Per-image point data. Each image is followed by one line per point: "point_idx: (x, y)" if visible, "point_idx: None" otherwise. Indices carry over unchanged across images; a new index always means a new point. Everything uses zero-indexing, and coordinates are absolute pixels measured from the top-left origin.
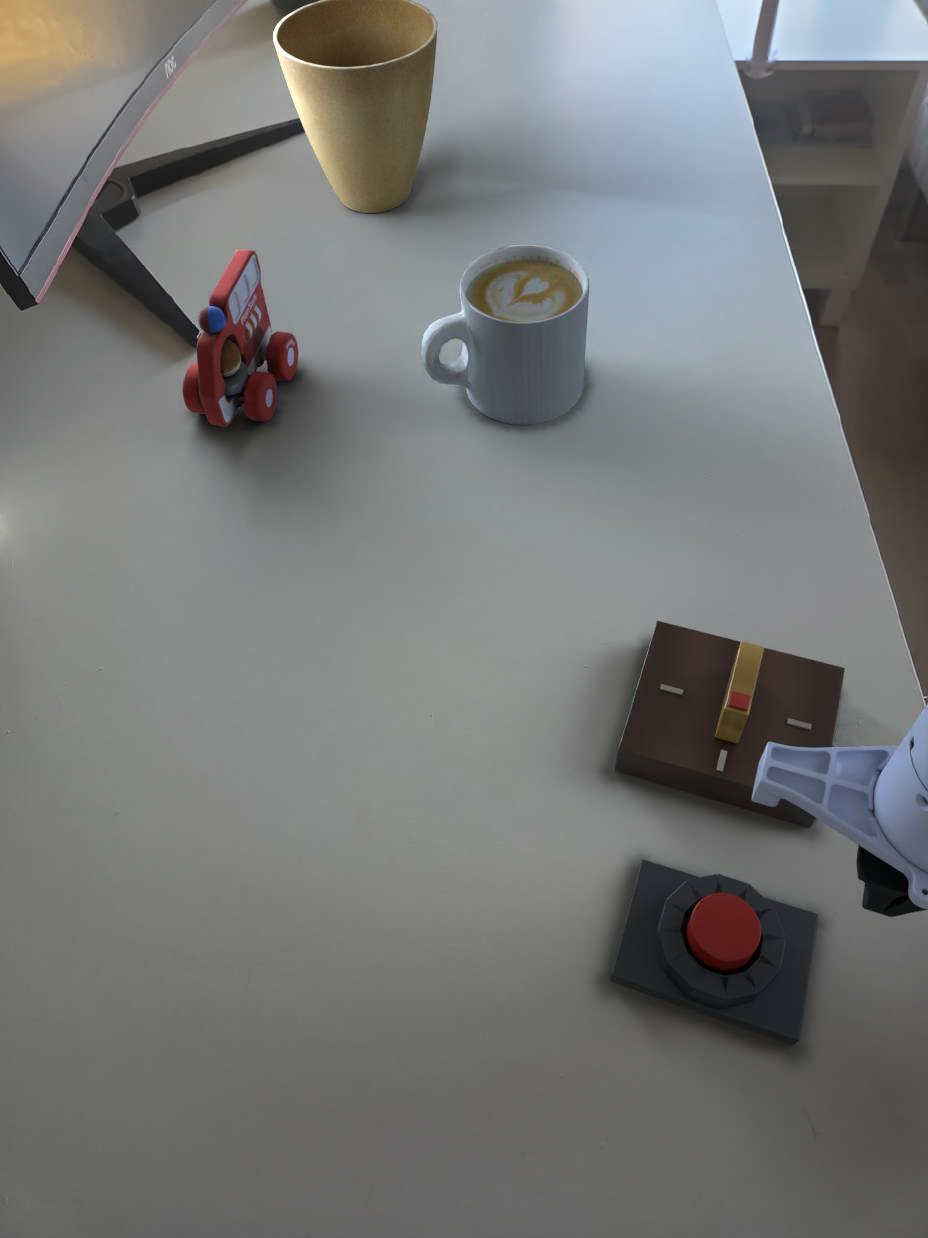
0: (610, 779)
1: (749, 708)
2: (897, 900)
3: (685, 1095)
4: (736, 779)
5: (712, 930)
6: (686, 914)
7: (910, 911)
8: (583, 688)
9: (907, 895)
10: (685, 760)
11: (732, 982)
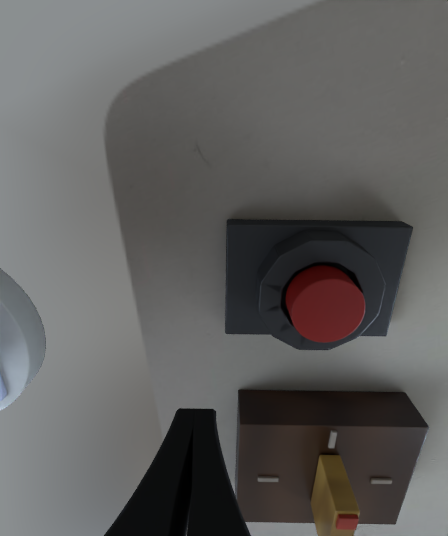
0: (408, 385)
1: (335, 516)
2: (181, 478)
3: (320, 140)
4: (317, 428)
5: (342, 304)
6: None
7: (159, 462)
8: (434, 444)
9: (171, 523)
10: (365, 432)
11: (306, 258)
